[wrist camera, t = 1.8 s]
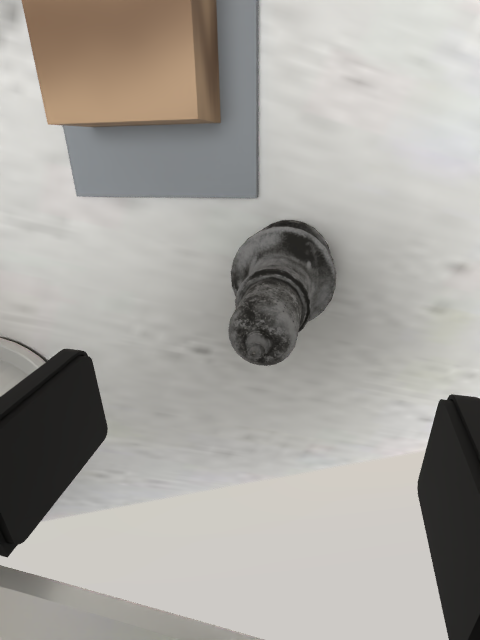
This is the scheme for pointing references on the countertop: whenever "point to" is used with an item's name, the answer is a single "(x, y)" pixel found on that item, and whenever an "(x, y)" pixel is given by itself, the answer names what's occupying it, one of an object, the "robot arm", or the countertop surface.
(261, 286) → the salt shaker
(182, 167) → the slate mat
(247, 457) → the countertop surface
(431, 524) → the robot arm
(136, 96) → the base block
